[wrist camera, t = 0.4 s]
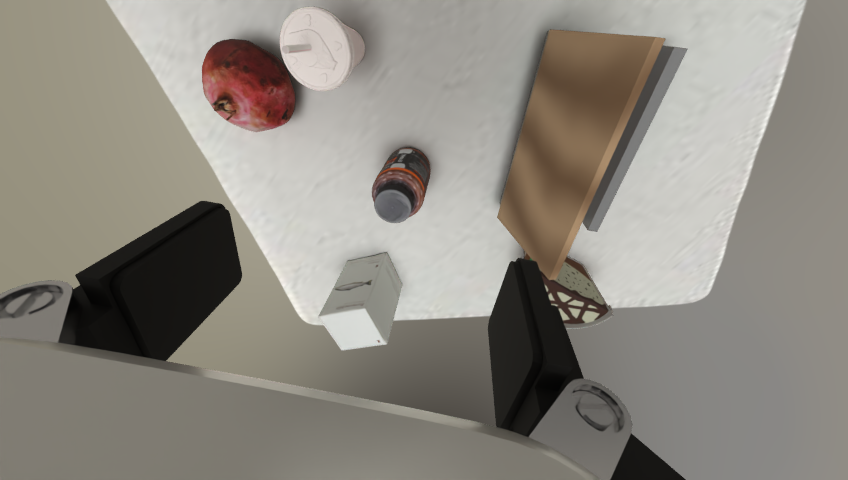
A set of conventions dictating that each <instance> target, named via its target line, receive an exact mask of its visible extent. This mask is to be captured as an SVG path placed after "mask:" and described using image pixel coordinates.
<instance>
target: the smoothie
mask: <svg viewBox="0 0 848 480" xmlns="http://www.w3.org/2000/svg"><path fill="white" fill-rule="evenodd" d="M280 49H281V54H282V57H283V60H284V63H285V65H286V67H287V68H288V70H289V71H290V73H291V74H292V75H293V77H294V78H295V79H296V80H297V81H299V82H300V83H301V84H302V85H304V86H306V87H308V88H310V89H313V90H317V91H327V90H333V89H335V88H338V87H340V86H341V85H342V84H343V83H344V82H346V80H347V79H348V77H349V76H350V74H351V71H352V70H353V69H354V68H355V67H356V66H357V65H358V64H359V63H360V62H361V61H362V59H363V57H364V54H365V45H364V41H363V39H362V37H361V36H360V34H359V33H358V32H357V31H355V30H354V29H352V28H350V27H348V26H346V25H345V24H343V23H342V22H341V21H340V20H339V19H338V18H337V17H336V16H335V15H334V14H332V13H330V12H329V11H327V10H325V9H322V8H318V7H303V8H299V9H297V10H295V11H293V12H292V13H291V14H290V15H289V16H288V17H287V18H286V20H285V21H284V23H283V26H282V28H281V32H280Z"/></svg>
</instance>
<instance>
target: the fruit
mask: <svg viewBox="0 0 848 480" xmlns="http://www.w3.org/2000/svg"><path fill="white" fill-rule="evenodd" d="M202 82H203V89H204V94H205V96H206V98H207V100H208V101H209V103H210V104H211V105H212V107H213V108H214V111H216V112H217V113H218V114H219V115H220V116H221V117H223V118H224V119H225V120H227V121H228V122H230V123H232V124H234V125H236V126H239V127H241V128H244V129H247V130H250V131H254V132H260V131H265V130H270V129H273V128H276V127H279V126H281V125H283V124H285V123H287V122H288V121H289V120H290V118H291V116H292V114H293V111H294V107H295V93H294V90H293V87H292V84H291V81H290V78H289V75H288V72H287V70H286V68H285V67H284V65H283V63H282V62H281V61H280V60H279V59H278V58H277V57H276V56H274V55H273V54H271V53H269V52H268V51H266V50H264V49H262V48H260V47H258V46H257V45H255V44H253V43H251V42H250V41H247V40H237V39H229V40H223V41H220V42H217V43H216V44H215V45H213V46H212V47H211V48H210V50H209V51H208V53H207V54H206V57H205V59H204V62H203V66H202Z"/></svg>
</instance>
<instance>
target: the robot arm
mask: <svg viewBox="0 0 848 480" xmlns="http://www.w3.org/2000/svg"><path fill="white" fill-rule="evenodd" d="M75 276H76V278H77V279H78V281H79V283H80V286H78V287H77V288H75V289H73V288H72V286H71V285H69V284H68V283H67V282H63V281H54V280H53V281H52V280H48V281H39V282H34V283H29V284H25V285H22V286H19V287H16V288H13V289H10V290H8V291H6V292H4V293H2V294H0V480H685V479H684V478H683V477H682V476H681V475H680V474H678V473H677V472H676V471H675V470H673V468H671V467H670V466H669V465H668V464H667V463H665V462H664V461H663V460H662V459H661V458H659V457H658V456H657V455H656V454H655V453H654V452H652V451H651V450H650V449H649V448H648V447H647V446H645V445H644V444H643V443H642V442H641V441H639V440H638V439H637V438H636V437H635V436H634V435H632V434H631V431H632V421H631V416H630V414H629V412H628V410H627V408H626V406H625V405H624V404H623V403H622V401H621V400H620V399H619V398H618V396H616V395H615V394H614V393H613V392H612V391H611V390H609V389H608V388H606V387H605V386H603V385H601V384H600V383H597V382H595V381H592V380H588V379H584V378H583V375H582V372H581V369H580V367H579V364H578V361H577V358H576V356H575V353H574V350H573V347H572V345H571V342H570V339H569V336H568V334H567V331H566V328H565V325H564V322H563V319H562V317H561V314H560V311H559V309H558V307H557V306H555V305H551V302H550V299H549V296H548V293H547V290H546V287H545V284H544V281H543V278H542V275H541V272H540V270H539V267H538V264H537V262H536V261H533V260H527V259H522V258H518V259H517V260H516V262H513V261H511V262H510V264H509V266H508V269H507V272H506V275H505V277H504V280H503V283H502V286H501V289H500V291H499V294H498V297H497V300H496V303H495V305H494V308H493V311H492V314H491V317H490V319H489V325H488V334H489V346H490V357H491V370H492V382H493V394H494V406H495V418H496V426H497V427H494V426H490V425H486V424H483V423H479V422H475V421H470V420H465V419H461V418H456V417H451V416H447V415H442V414H437V413H432V412H428V411H423V410H418V409H413V408H408V407H403V406H398V405H393V404H388V403H382V402H378V401H372V400H367V399H362V398H357V397H352V396H347V395H342V394H337V393H332V392H326V391H321V390H316V389H311V388H305V387H300V386H295V385H290V384H284V383H279V382H274V381H268V380H264V379H258V378H252V377H248V376H242V375H237V374H232V373H226V372H221V371H216V370H210V369H205V368H199V367H193V366H189V365H183V364H178V363H172V362H167V361H166V360H167V359H168V358H169V357H170V356H171V355H172V354H173V353H174V352H175V351H176V350H177V349H178V348H179V347H180V345H181V344H182V343H183V342H184V341H185V340H186V339H187V338H188V337H189V336H190V335H191V334H192V333H193V332H194V331H195V330H196V329H197V328H198V326H199V325H200V324H201V323H202V322H203V321H204V320H205V319H206V318H207V317H208V316H209V315H210V314H211V313H212V312H213V311H214V310H215V308H216V307H217V306H218V305H219V304H220V303H221V302H222V301H223V300H224V299H225V298H226V297H227V296H228V295H229V294H230V293H231V292H232V291H233V289H234V288H235V287H236V286H237V285H238V284H239V283H240V281H241V278H242V271H241V266H240V261H239V256H238V252H237V247H236V242H235V237H234V232H233V227H232V222H231V217H230V213H229V211H228V210H226V209H225V207H224V206H223V205H222V204H219V203H213V202H207V201H200V202H199V203H197V204H195V205H193V206H191V207H190V208H188V209H186V210H185V211H183V212H181V213H180V214H178V215H176V216H174V217H173V218H171V219H169V220H168V221H166V222H164V223H163V224H161V225H159V226H158V227H156V228H154V229H152V230H151V231H149V232H147V233H146V234H144V235H142V236H141V237H139V238H137V239H135V240H134V241H132V242H130V243H129V244H127V245H125V246H124V247H122V248H120V249H119V250H117V251H115V252H113V253H112V254H110V255H108V256H107V257H105V258H103V259H101V260H100V261H98V262H97V263H95V264H93V265H92V266H90V267H88V268H86V269H85V270H83V271H81V272H79V273H78V274H76V275H75Z"/></svg>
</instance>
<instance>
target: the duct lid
mask: <svg viewBox="0 0 848 480" xmlns="http://www.w3.org/2000/svg"><path fill="white" fill-rule="evenodd" d="M664 41H665V39H664V38H658V37H647V36H633V35H619V34H605V33H591V32H578V31H564V30H550V31H549V34H548V38H547V41H546V45H545V48H544V52H543V56H542V59H541V63H540V66H539V70H538V73H537V77H536V81H535V84H534V88H533V91H532V95H531V98H530V102H529V106H528V109H527V113H526V116H525V120H524V123H523V127H522V131H521V134H520V138H519V141H518V145H517V148H516V152H515V155H514V159H513V163H512V166H511V170H510V173H509V177H508V180H507V184H506V188H505V191H504V195H503V198H502V202H501V205H500V209H499V213H498V216H497V218H498V219H499V220H500V221H501V223H502V224H503V225H504V226H505V227H506V229H507V230H508V231H509V232H510V233H511V235H512V236H513V237H514V238H515V239H516V241H517V242H518V243H519V244H520V246H521V247H522V248H523V249H524V250H525V252H526V253H527V254H528V255H529V256H530V258H531V259H532V260H533V261H536V262H537V264H538V267H539V269H540V270H541V271H542V272H543V273H544V275H545V276H546V277H547V278H548V279H549V280H555V279H556V278H557V276H558V274H559V272H560V270H561V268H562V265H563V263H564V261H565V259H566V257H567V254H568V252H569V250H570V248H571V246H572V243H573V241H574V239H575V237H576V235H577V232H578V230H579V228H580V226H581V224H582V221H583V219H584V217H585V215H586V213H587V210H588V208H589V206H590V204H591V202H592V199H593V197H594V195H595V193H596V191H597V188H598V186H599V184H600V182H601V180H602V177H603V175H604V173H605V171H606V169H607V166H608V164H609V162H610V160H611V158H612V155H613V153H614V151H615V149H616V147H617V144H618V142H619V140H620V138H621V136H622V133H623V131H624V129H625V127H626V125H627V122H628V120H629V118H630V116H631V114H632V111H633V109H634V107H635V105H636V103H637V100H638V98H639V96H640V94H641V92H642V89H643V87H644V85H645V83H646V81H647V78H648V76H649V74H650V72H651V70H652V67H653V65H654V63H655V61H656V59H657V56H658V54H659V52H660V50H661V48H662V45H663V43H664Z"/></svg>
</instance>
